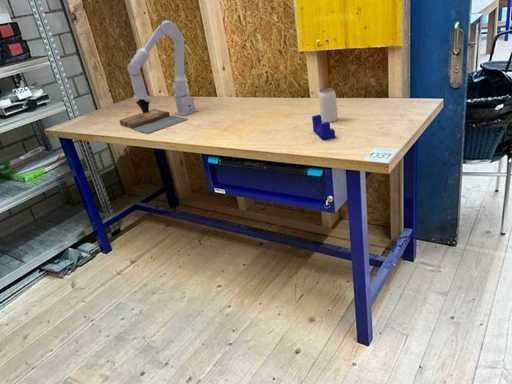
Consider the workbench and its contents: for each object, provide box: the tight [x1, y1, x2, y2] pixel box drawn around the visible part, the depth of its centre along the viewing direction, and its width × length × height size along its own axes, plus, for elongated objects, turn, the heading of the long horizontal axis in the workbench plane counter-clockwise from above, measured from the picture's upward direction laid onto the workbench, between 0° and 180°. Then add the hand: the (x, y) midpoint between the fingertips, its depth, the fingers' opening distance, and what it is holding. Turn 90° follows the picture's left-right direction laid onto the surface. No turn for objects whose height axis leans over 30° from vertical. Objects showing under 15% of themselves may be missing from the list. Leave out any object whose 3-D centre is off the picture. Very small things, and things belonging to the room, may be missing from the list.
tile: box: [141, 110, 159, 119], centre depth 209 cm, size 7×6×2 cm
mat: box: [132, 115, 189, 135], centre depth 203 cm, size 16×22×1 cm
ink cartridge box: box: [172, 73, 191, 97], centre depth 240 cm, size 9×5×15 cm, turn 168°
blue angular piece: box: [311, 114, 336, 141], centre depth 152 cm, size 12×4×6 cm, turn 9°
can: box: [318, 87, 338, 124], centre depth 164 cm, size 6×6×12 cm
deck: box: [119, 108, 171, 130], centre depth 214 cm, size 16×20×2 cm
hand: (146, 114), depth 212 cm, fingers closed
